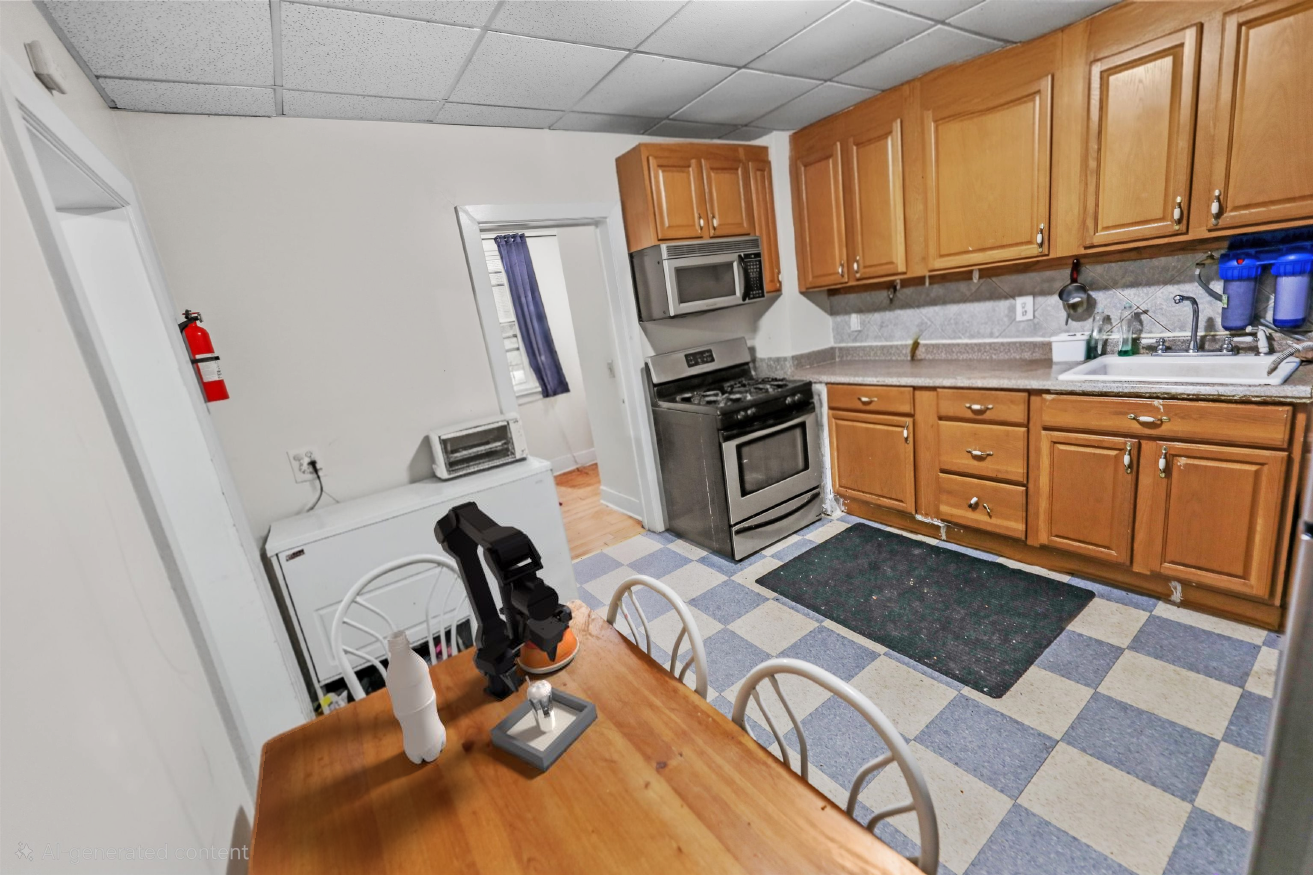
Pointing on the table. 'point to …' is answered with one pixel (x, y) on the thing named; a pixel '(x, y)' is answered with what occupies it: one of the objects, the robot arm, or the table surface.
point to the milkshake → (541, 704)
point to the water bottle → (413, 700)
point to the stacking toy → (539, 660)
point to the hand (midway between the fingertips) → (535, 675)
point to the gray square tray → (544, 748)
